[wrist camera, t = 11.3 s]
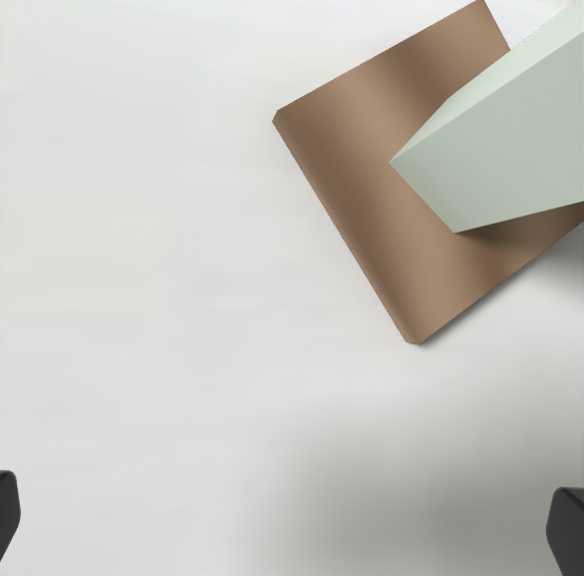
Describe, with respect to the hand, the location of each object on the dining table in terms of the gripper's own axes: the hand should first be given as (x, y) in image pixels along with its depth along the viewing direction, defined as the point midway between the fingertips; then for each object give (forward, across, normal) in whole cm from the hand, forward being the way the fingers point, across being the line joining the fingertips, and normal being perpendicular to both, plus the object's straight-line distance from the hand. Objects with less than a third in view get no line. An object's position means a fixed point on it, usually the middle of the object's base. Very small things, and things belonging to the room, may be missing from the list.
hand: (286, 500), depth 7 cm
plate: (+16, -7, -6) cm, 19 cm away
